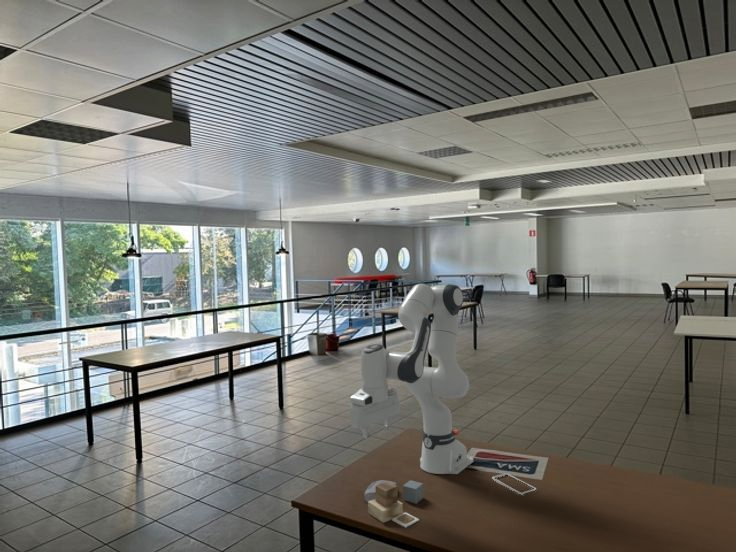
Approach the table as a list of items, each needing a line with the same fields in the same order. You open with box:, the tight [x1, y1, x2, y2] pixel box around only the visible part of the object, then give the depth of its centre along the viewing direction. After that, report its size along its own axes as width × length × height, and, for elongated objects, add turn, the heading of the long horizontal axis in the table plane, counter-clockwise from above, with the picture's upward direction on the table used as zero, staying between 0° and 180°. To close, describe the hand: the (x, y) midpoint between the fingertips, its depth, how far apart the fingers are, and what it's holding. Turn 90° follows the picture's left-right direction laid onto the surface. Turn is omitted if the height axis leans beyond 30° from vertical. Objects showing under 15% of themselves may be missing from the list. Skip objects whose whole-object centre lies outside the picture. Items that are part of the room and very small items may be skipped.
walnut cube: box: [376, 482, 399, 507], centre depth 157 cm, size 5×5×5 cm
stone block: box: [363, 479, 398, 504], centre depth 169 cm, size 12×5×10 cm
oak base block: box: [367, 499, 404, 524], centre depth 157 cm, size 8×8×4 cm
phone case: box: [491, 472, 537, 496], centre depth 174 cm, size 7×1×15 cm
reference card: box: [391, 511, 420, 528], centre depth 152 cm, size 6×6×1 cm
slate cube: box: [402, 479, 424, 505], centre depth 166 cm, size 5×5×5 cm
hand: (376, 433), depth 165 cm, fingers open, 8 cm apart
